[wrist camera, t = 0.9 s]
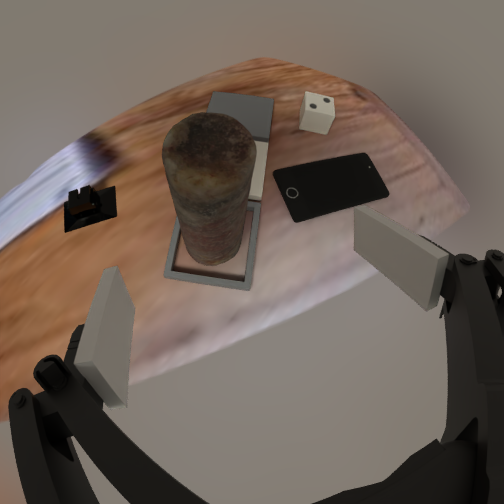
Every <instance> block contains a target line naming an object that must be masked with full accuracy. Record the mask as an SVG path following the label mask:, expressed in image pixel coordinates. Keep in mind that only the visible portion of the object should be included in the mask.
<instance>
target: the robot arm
mask: <svg viewBox="0 0 504 504" xmlns="http://www.w3.org/2000/svg"><path fill="white" fill-rule="evenodd" d="M354 251H356V252H357V253H358V254H359V255H361V256H362V257H363V258H364V259H365V260H367V261H368V262H369V263H370V264H372V265H373V266H374V267H375V268H376V269H378V270H379V271H380V272H381V273H382V274H384V275H385V276H386V277H387V278H388V279H390V280H391V281H392V282H393V283H394V284H395V285H397V286H398V287H399V288H400V289H401V290H402V291H403V292H405V293H406V294H407V295H408V296H409V297H410V298H411V299H413V300H414V301H415V302H416V303H417V304H418V305H420V307H422V308H423V309H424V310H425V311H428V310H430V309H432V308H434V307H436V306H437V304H438V301H439V297H440V295H441V296H442V297H443V298H444V303H443V306H442V310H441V313H440V317H439V318H442V315H443V314H444V317H445V318H444V319H445V329H446V343H447V363H448V401H447V420H446V428H445V431H444V434H443V436H442V439H441V442H440V443H439V441H438V440H437V439H435V440H434V441H432V442H431V443H429V444H428V445H427V446H425V447H424V448H422V449H421V450H419V451H417V452H416V453H414V454H413V455H411V456H410V457H409V458H408V459H407V460H406V461H405V462H404V463H403V464H402V465H401V466H400V467H399V468H398V469H397V470H396V471H394V473H392V474H391V475H390V476H389V477H388V478H387V479H385V480H384V481H382V482H379V483H376V484H372V485H368V486H364V487H360V488H355V489H351V490H347V491H343V492H341V493H338V494H336V495H333V496H331V497H329V498H326V499H323V500H321V501H318V502H315V503H312V504H504V254H503V253H502V252H501V251H499V250H498V251H497V250H488V251H487V252H486V256H485V260H480V261H478V260H477V259H476V258H474V257H473V256H471V255H468V254H458V255H456V256H454V255H453V254H451V253H450V252H448V251H447V250H445V249H443V248H442V247H440V246H437V244H435V243H434V242H431V240H429V239H427V238H426V237H424V236H421V235H417V234H416V233H414V232H412V231H411V230H409V229H407V228H405V227H404V226H402V225H400V224H399V223H397V222H395V221H393V220H391V219H390V218H388V217H386V216H384V215H382V214H381V213H379V212H377V211H375V210H373V209H371V208H370V207H368V206H366V205H362V206H358V207H354ZM500 287H501V289H502V295H501V297H500V298H499V296H498V295H497V294H498V291H499V288H500ZM134 315H135V306H134V304H133V302H132V300H131V297H130V295H129V293H128V291H127V288H126V286H125V283H124V281H123V279H122V276H121V274H120V271H119V269H118V266H114V267H110V268H107V269H104V271H103V274H102V276H101V279H100V282H99V284H98V287H97V290H96V293H95V296H94V298H93V301H92V304H91V307H90V310H89V313H88V316H87V319H86V322H85V324H82V325H78V327H77V328H76V329H75V331H74V332H73V333H72V336H71V339H70V343H69V345H68V348H67V349H68V350H67V352H66V355H65V358H64V362H63V361H62V359H61V358H60V357H59V356H58V355H49V356H46V357H45V358H43V359H41V360H40V361H39V362H38V363H37V365H36V367H35V368H34V373H33V375H34V378H35V380H36V381H37V382H38V383H39V384H40V386H41V387H42V388H43V389H44V390H45V391H43V392H40V393H38V394H36V395H33V394H32V393H31V392H30V390H28V389H27V388H21V389H18V390H17V391H16V392H14V393H13V394H12V396H11V398H10V400H9V405H8V409H9V419H10V428H11V435H12V442H13V448H14V453H15V458H16V463H17V468H18V472H19V477H20V481H21V484H22V488H23V491H24V495H25V498H26V502H27V504H99V502H98V500H97V498H96V496H95V494H94V492H93V490H92V488H91V486H90V484H89V481H88V479H87V477H86V475H85V472H84V470H83V468H82V465H81V463H80V460H79V458H78V455H77V453H76V450H75V448H74V445H73V442H72V439H71V436H74V437H75V438H76V440H77V441H78V442H79V444H80V445H81V447H82V448H83V449H84V451H85V452H86V453H87V455H88V456H89V457H90V459H91V460H92V461H93V462H94V464H95V465H96V466H97V467H98V469H99V470H100V471H101V472H102V473H103V474H104V476H105V477H106V478H107V479H108V480H109V481H110V483H111V484H112V485H113V486H114V487H115V488H116V489H117V490H118V491H119V492H120V493H121V494H122V496H123V497H124V498H125V499H126V500H127V501H128V502H129V503H130V504H209V503H208V502H206V501H204V500H203V499H202V498H200V497H199V496H197V495H196V494H195V493H193V492H192V491H191V490H189V489H188V488H186V487H185V486H184V485H182V484H181V483H180V482H178V481H177V480H176V479H175V478H174V477H172V476H171V475H170V474H169V473H167V472H166V471H165V470H164V469H162V468H161V467H160V466H159V465H158V464H157V463H155V462H154V461H153V460H152V459H151V458H150V457H149V456H148V455H146V454H145V453H144V452H143V451H142V450H141V449H140V448H139V447H138V446H137V445H136V444H135V443H134V442H133V441H132V440H131V439H130V438H129V437H127V435H126V434H125V433H123V432H122V430H121V429H120V428H119V427H118V426H117V425H116V424H115V423H114V422H113V421H112V420H111V419H110V418H109V417H108V416H107V414H106V413H105V412H104V411H103V410H102V409H103V402H104V403H105V404H106V405H107V406H108V408H109V409H110V410H113V409H121V408H127V399H128V380H129V365H130V353H131V342H132V333H133V324H134Z"/></svg>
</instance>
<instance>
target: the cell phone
mask: <svg viewBox="0 0 504 504" xmlns="http://www.w3.org/2000/svg"><path fill="white" fill-rule="evenodd" d="M273 176H274V178H275V181H276V183H277V185H278V187H279V190H280V192H281V194H282V196H283V199H284V201H285V203H286V205H287V208H288V210H289V212H290V215H291V217H292V219H293V221H294V222H296V223H298V222H301V221H305V220H308V219H312V218H315V217H318V216H322V215H325V214H329V213H332V212H336V211H339V210H343V209H346V208H350V207H353V206H357V205H361V204H364V203H368V202H371V201H375V200H378V199H382V198H386V197H388V196H389V191H388V189H387V187H386V186H385V184H384V182H383V180H382V178H381V177H380V175H379V173H378V171H377V170H376V168H375V166H374V164H373V163H372V161H371V159H370V158H369V156H368V155H367V154H366V153H359V154H353V155H348V156H342V157H337V158H331V159H326V160H321V161H316V162H311V163H306V164H301V165H296V166H292V167H287V168H283V169H278V170H275V171H274V172H273Z"/></svg>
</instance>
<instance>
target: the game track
mask: <svg viewBox="0 0 504 504" xmlns="http://www.w3.org/2000/svg"><path fill="white" fill-rule="evenodd" d="M273 103H274V99H271V98H265V97H258V96H251V95H243V94H235V93H225V92H215V91H213V94H212V97H211V100H210V103H209V106H208V109H207V112H206V113H208V112H212V113H222V114H226V115H229V116H231V117H233V118H235V119H236V120H238V121H239V122H240V123H241V124H242V125H244V126H245V128H246V129H247V130H248V131H249V132H250V133H251V135H252V137H253V140H254V141H255V144H256V149H257V155H256V161H255V166H254V171H253V176H252V181H251V188H250V193H249V198H248V199H251V200H258V201H261V198H262V191H263V183H264V175H265V167H266V159H267V151H268V141H269V135H270V127H271V119H272V111H273ZM260 207H261V203H257V202H250V201H248V204H247V210H249V211H254V213H253V220H252V228H251V235H250V242H249V250H248V257H247V265H246V272H245V280H244V282H241V281H234V280H227V279H220V278H214V277H207V276H200V275H194V274H188V273H181V272H175V271H173V267H174V262H175V257H176V252H177V248H178V243H179V238H180V234H181V228H180V224H179V220H178V217H176V221H175V225H174V230H173V234H172V238H171V243H170V247H169V252H168V256H167V261H166V266H165V271H164V277H165V278H168V279H174V280H180V281H186V282H193V283H199V284H205V285H212V286H219V287H225V288H232V289H239V290H246V291H250V286H251V278H252V270H253V262H254V254H255V247H256V239H257V231H258V223H259V215H260Z"/></svg>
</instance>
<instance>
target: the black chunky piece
mask: <svg viewBox="0 0 504 504" xmlns="http://www.w3.org/2000/svg"><path fill="white" fill-rule="evenodd" d="M114 217H117V208H116V191H115V186H112V187H109V188H106V189H103V190H99V191H96V190H95V189H94V188H91V187H90V185H88V186H85V187H82V188H80V194H78V190H77V189H76V190H73V191H70V192H69V195H68V201H67V202H64V230H65V233H66V232H69V231H72V230H75V229H79V228H82V227H85V226H88V225H91V224H94V223H97V222H101V221H104V220H107V219H111V218H114Z"/></svg>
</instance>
